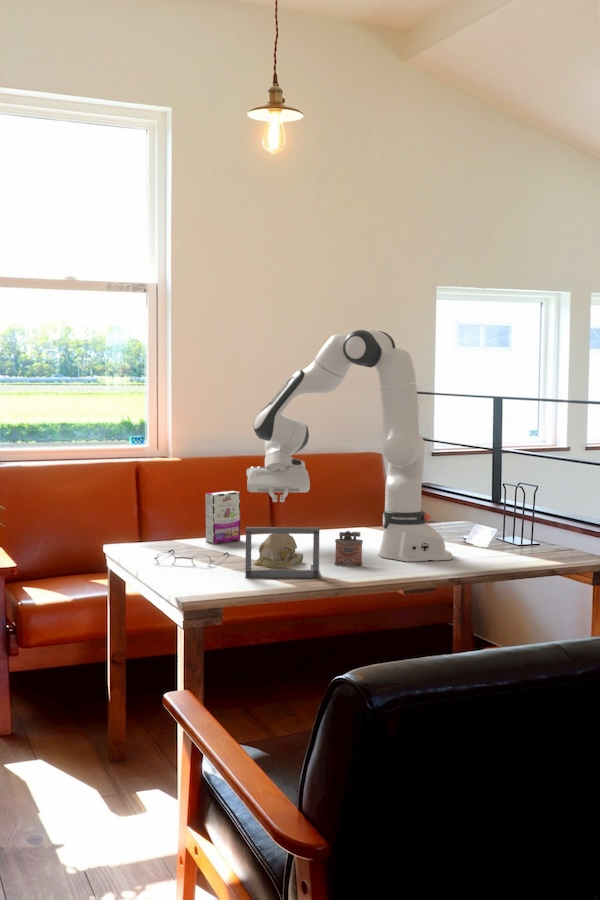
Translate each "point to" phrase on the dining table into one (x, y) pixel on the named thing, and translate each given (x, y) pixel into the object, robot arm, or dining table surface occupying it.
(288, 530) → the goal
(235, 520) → the candy bar box
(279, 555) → the ceramic model
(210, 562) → the eyeglasses
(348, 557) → the lighter
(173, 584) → the dining table surface
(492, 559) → the dining table surface
